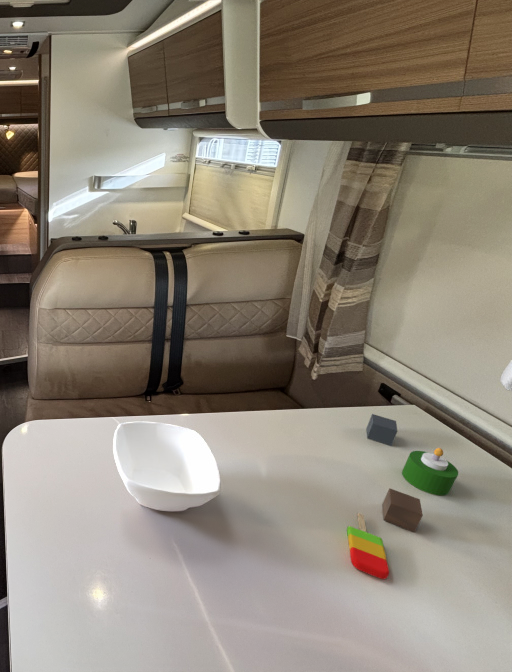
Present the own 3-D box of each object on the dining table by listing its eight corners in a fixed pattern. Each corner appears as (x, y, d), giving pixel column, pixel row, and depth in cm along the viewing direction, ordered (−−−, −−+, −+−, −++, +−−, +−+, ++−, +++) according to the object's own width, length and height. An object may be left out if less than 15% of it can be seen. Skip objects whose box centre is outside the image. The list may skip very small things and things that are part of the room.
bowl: (112, 526, 91) (117, 486, 87) (106, 452, 111) (110, 416, 107) (222, 542, 87) (233, 501, 83) (196, 462, 108) (203, 426, 103)
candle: (407, 463, 107) (421, 431, 103) (452, 484, 100) (469, 450, 97) (397, 478, 102) (411, 446, 98) (444, 501, 96) (462, 467, 92)
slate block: (389, 435, 116) (396, 420, 114) (391, 446, 112) (397, 431, 110) (366, 428, 119) (372, 413, 117) (367, 438, 115) (372, 423, 113)
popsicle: (351, 567, 82) (354, 561, 82) (343, 511, 94) (345, 505, 93) (388, 583, 80) (391, 576, 79) (375, 523, 91) (377, 516, 91)
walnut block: (411, 516, 93) (419, 499, 91) (414, 532, 89) (423, 515, 87) (382, 504, 95) (389, 488, 94) (383, 520, 92) (390, 503, 90)
